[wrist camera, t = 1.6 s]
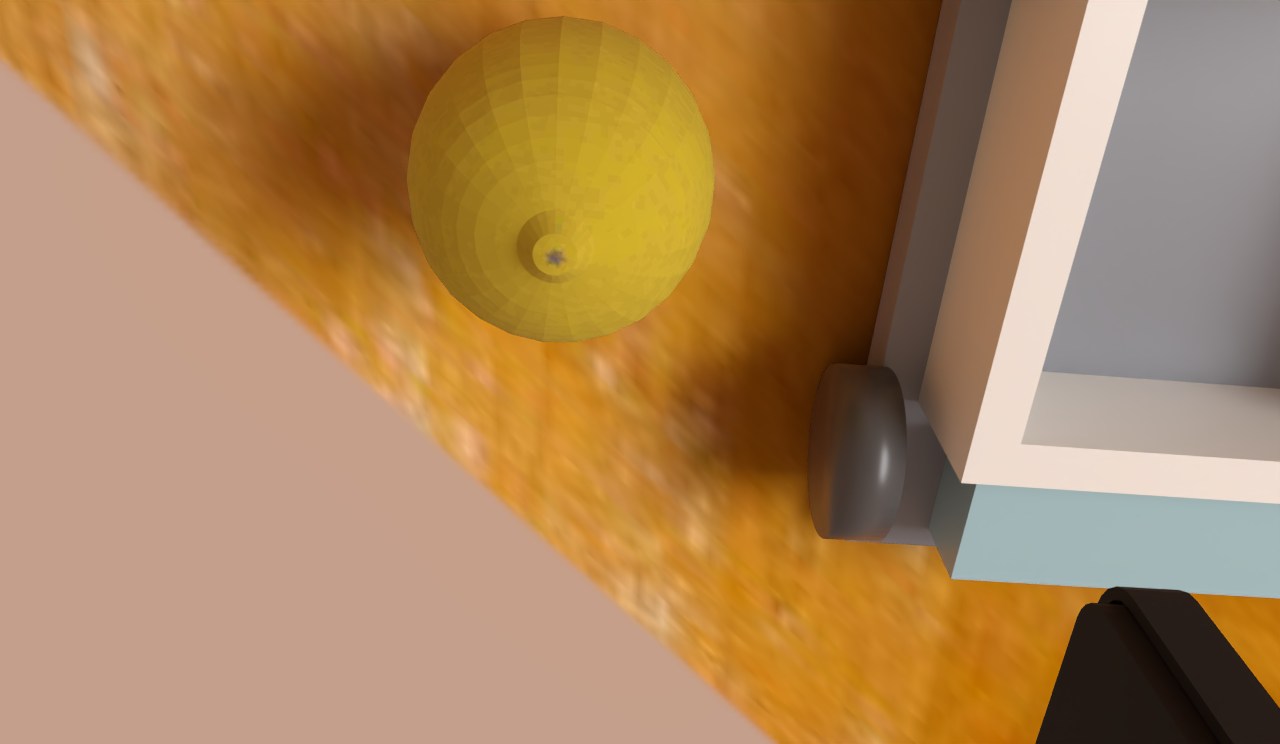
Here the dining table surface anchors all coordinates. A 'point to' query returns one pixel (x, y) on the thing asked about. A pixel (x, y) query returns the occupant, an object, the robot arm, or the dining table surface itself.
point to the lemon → (560, 179)
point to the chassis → (1077, 306)
